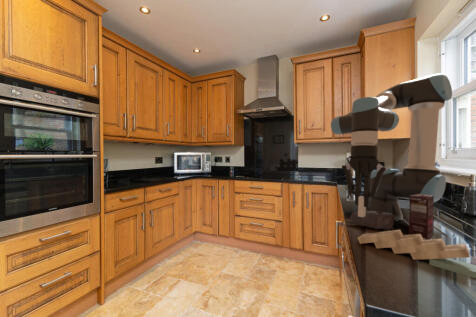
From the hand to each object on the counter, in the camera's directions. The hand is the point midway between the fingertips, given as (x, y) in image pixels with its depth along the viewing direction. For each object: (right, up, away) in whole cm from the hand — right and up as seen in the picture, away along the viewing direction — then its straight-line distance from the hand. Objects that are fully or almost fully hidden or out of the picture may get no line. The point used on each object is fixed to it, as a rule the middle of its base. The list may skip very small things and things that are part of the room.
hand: (361, 216), depth 66 cm
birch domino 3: (+6, -8, -7) cm, 12 cm away
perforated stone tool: (+13, -9, +14) cm, 21 cm away
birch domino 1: (0, -8, 0) cm, 8 cm away
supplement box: (+20, -9, 0) cm, 22 cm away
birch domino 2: (+3, -8, -3) cm, 9 cm away
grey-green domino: (+11, -8, -12) cm, 18 cm away
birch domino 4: (+9, -8, -10) cm, 15 cm away
